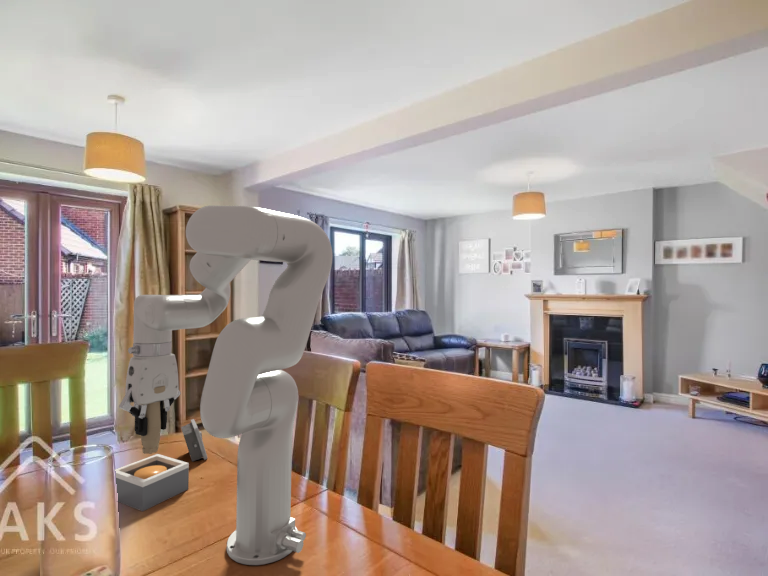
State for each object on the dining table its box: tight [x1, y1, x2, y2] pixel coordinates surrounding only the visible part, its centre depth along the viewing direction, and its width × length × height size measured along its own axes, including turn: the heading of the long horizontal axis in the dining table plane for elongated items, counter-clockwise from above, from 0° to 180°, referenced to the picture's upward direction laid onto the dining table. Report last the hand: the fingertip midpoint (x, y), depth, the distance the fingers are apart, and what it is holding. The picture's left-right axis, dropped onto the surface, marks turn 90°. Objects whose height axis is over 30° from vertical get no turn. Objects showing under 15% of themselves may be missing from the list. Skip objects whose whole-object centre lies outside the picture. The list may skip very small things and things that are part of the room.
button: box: [134, 465, 167, 479], centre depth 95 cm, size 6×6×2 cm
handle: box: [140, 386, 165, 455], centre depth 95 cm, size 5×6×15 cm
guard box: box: [114, 453, 190, 512], centre depth 95 cm, size 11×11×6 cm
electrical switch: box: [180, 418, 208, 462], centre depth 116 cm, size 9×5×9 cm, turn 30°
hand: (151, 430), depth 95 cm, fingers closed on handle, 3 cm apart
